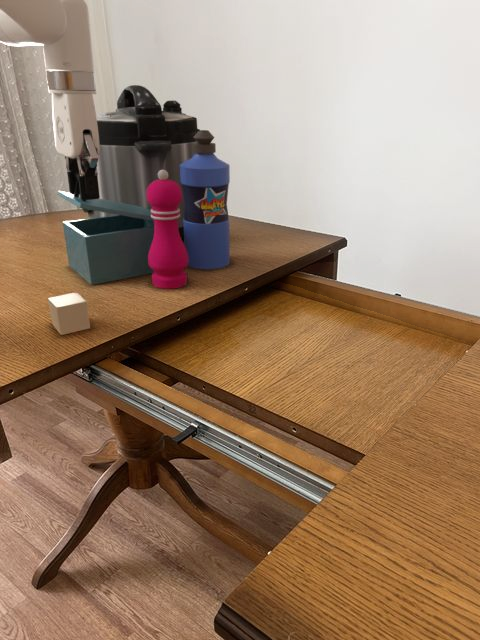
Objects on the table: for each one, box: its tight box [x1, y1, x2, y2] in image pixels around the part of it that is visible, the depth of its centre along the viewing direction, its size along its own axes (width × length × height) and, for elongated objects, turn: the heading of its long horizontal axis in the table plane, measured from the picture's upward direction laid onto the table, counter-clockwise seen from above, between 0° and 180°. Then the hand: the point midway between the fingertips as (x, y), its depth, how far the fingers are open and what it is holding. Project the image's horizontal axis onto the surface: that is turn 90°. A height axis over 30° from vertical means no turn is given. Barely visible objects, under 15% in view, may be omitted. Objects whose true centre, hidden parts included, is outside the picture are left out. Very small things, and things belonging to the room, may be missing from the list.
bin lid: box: [57, 171, 154, 221], centre depth 101 cm, size 17×13×5 cm
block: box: [47, 292, 91, 336], centre depth 81 cm, size 4×4×4 cm
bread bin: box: [62, 215, 155, 286], centre depth 105 cm, size 17×13×9 cm
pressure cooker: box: [79, 84, 201, 239], centre depth 124 cm, size 30×28×32 cm
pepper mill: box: [146, 170, 189, 290], centre depth 95 cm, size 7×7×20 cm
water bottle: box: [180, 129, 231, 270], centre depth 105 cm, size 9×9×25 cm
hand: (84, 195), depth 97 cm, fingers closed on bin lid, 5 cm apart
